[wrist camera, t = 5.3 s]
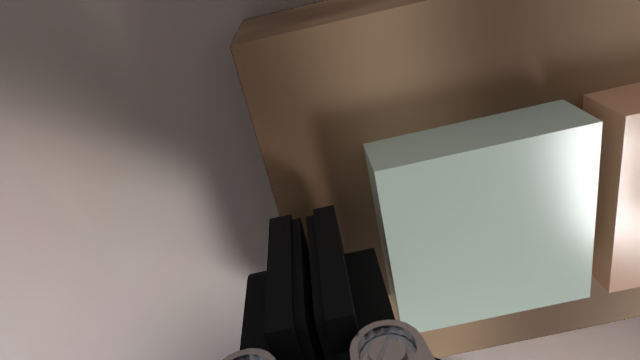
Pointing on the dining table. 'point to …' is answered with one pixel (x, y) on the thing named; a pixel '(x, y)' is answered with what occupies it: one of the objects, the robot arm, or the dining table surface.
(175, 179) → the dining table surface
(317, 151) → the tan cardboard box
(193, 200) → the dining table surface
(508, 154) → the sage tile
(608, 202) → the terracotta tile
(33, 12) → the dining table surface
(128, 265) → the dining table surface
